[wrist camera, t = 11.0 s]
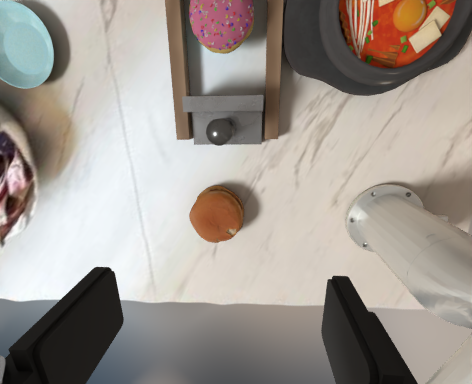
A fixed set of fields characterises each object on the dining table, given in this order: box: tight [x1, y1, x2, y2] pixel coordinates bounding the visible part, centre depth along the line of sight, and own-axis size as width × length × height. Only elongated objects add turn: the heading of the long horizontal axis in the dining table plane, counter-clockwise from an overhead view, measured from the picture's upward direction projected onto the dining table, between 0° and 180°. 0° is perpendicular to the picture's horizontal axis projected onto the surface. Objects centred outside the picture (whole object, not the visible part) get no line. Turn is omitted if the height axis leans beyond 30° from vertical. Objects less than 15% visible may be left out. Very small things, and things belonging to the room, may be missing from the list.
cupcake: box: [189, 0, 254, 53], centre depth 30 cm, size 9×8×12 cm
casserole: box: [282, 0, 472, 96], centre depth 30 cm, size 25×19×8 cm
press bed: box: [165, 0, 283, 140], centre depth 33 cm, size 16×24×6 cm, turn 1°
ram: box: [182, 95, 263, 145], centre depth 34 cm, size 11×7×10 cm, turn 91°
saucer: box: [0, 0, 54, 89], centre depth 37 cm, size 12×12×2 cm
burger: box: [189, 186, 244, 243], centre depth 42 cm, size 10×9×5 cm
